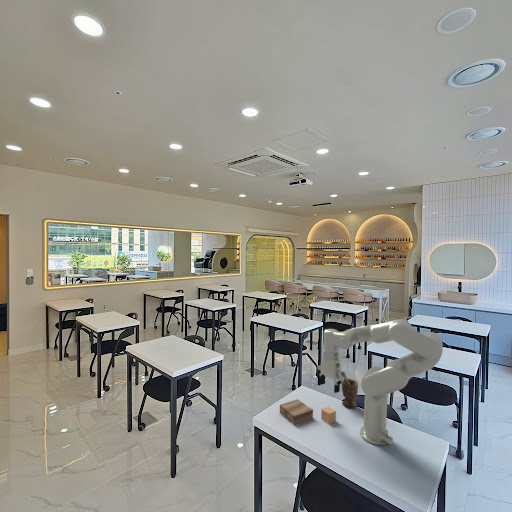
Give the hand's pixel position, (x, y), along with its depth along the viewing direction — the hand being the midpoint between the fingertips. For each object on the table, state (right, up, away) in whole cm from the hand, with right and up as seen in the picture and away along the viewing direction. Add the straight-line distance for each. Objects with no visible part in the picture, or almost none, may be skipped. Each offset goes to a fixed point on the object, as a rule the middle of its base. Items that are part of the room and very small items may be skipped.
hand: (329, 388), depth 145 cm
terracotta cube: (0, -16, 0) cm, 16 cm away
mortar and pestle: (+14, -17, +14) cm, 25 cm away
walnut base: (-16, -16, +3) cm, 23 cm away
